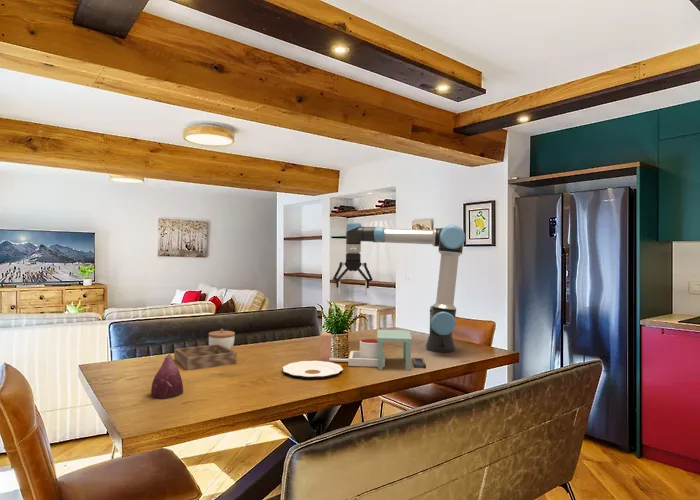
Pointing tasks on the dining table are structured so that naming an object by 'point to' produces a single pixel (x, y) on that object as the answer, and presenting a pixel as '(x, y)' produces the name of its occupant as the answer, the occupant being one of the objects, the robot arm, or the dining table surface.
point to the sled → (353, 356)
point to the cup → (368, 349)
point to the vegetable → (167, 381)
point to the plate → (302, 366)
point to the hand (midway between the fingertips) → (352, 294)
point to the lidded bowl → (222, 338)
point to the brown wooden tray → (204, 356)
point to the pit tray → (418, 363)
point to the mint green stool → (394, 337)
